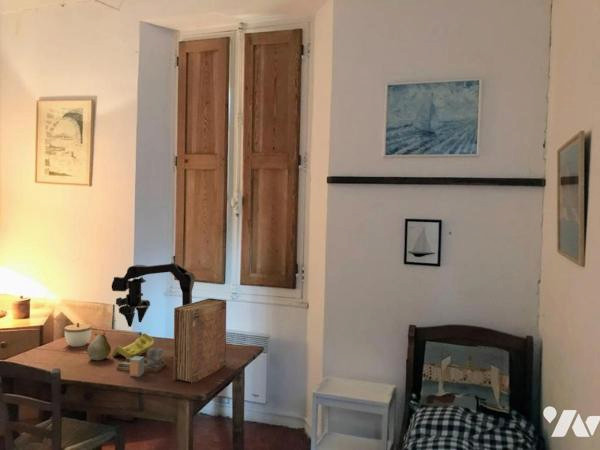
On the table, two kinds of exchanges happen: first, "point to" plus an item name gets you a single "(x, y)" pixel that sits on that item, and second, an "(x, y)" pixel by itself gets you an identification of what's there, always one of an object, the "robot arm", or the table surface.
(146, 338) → the plastic component
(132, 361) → the grey green block
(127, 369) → the rail
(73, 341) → the lidded bowl
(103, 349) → the fruit
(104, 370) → the table surface
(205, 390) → the table surface
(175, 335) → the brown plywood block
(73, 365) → the table surface
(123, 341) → the table surface
